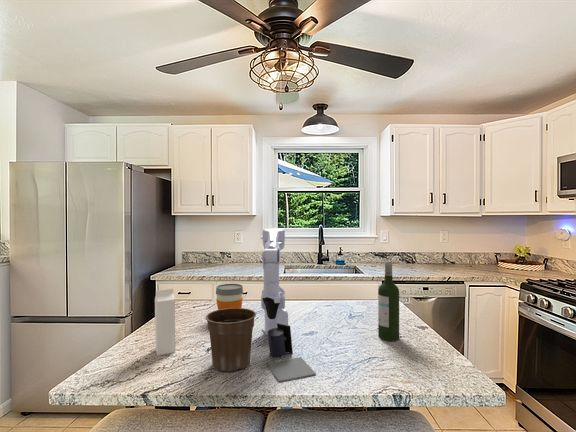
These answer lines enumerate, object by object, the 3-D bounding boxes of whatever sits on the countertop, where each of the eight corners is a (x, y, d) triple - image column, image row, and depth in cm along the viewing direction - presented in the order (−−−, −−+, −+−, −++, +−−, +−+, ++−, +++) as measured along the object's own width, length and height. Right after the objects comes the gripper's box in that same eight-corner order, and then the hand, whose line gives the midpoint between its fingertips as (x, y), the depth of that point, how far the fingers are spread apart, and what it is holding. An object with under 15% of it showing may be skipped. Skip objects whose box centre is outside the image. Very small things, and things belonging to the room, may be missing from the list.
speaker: (283, 347, 118) (281, 320, 117) (293, 353, 113) (291, 325, 112) (265, 355, 113) (263, 327, 112) (275, 362, 109) (273, 332, 108)
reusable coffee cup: (248, 317, 153) (248, 285, 153) (230, 324, 143) (230, 290, 142) (229, 312, 160) (228, 282, 160) (210, 320, 149) (209, 287, 149)
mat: (300, 358, 110) (300, 357, 110) (316, 374, 98) (316, 373, 98) (266, 364, 105) (266, 363, 105) (278, 382, 94) (278, 381, 94)
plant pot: (213, 352, 115) (213, 307, 115) (259, 352, 114) (258, 307, 114) (199, 375, 98) (199, 322, 98) (252, 376, 98) (252, 323, 98)
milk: (175, 352, 115) (175, 290, 115) (157, 356, 112) (156, 292, 112) (172, 346, 120) (172, 287, 120) (154, 349, 117) (154, 288, 117)
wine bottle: (402, 337, 127) (402, 261, 127) (393, 343, 121) (393, 263, 121) (384, 332, 133) (383, 259, 132) (374, 338, 127) (374, 261, 126)
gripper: (288, 284, 114) (288, 322, 114) (275, 277, 128) (275, 311, 128) (269, 285, 112) (269, 325, 112) (258, 278, 125) (258, 313, 125)
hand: (271, 318), depth 120 cm, fingers closed
